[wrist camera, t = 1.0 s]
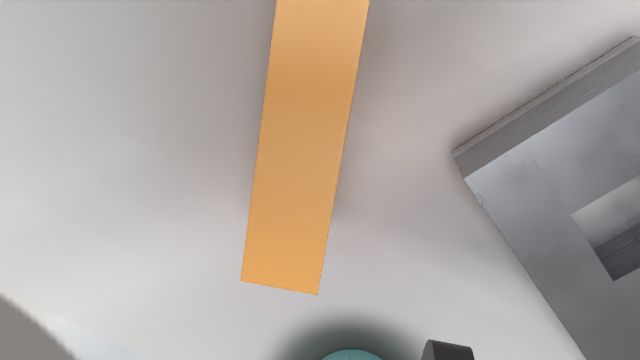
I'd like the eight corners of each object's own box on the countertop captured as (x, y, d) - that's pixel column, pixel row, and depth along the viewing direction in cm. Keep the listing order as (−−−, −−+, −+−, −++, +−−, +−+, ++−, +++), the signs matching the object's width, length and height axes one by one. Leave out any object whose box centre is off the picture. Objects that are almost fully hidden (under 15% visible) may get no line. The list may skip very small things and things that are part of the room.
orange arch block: (302, -19, 26) (279, -17, 20) (370, -8, 26) (370, -2, 20) (269, 213, 30) (240, 280, 23) (329, 224, 30) (317, 295, 23)
